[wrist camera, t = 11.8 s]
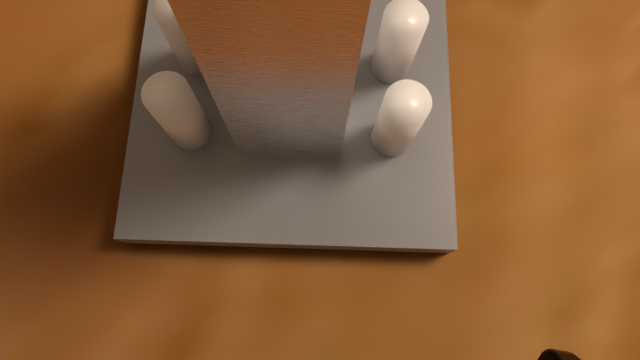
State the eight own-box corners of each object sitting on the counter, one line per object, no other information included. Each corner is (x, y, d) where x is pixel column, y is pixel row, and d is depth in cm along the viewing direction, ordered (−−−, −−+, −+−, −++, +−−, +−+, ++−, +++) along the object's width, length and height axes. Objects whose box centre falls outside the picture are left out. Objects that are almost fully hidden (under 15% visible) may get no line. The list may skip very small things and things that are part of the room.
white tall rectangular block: (340, 157, 18) (389, -94, 7) (239, 154, 18) (118, -105, 7) (342, 45, 20) (386, -323, 8) (247, 42, 20) (158, -334, 8)
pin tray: (448, 253, 19) (492, 236, 14) (125, 243, 19) (65, 222, 14) (437, -3, 22) (470, -84, 17) (161, -13, 22) (121, -97, 17)
